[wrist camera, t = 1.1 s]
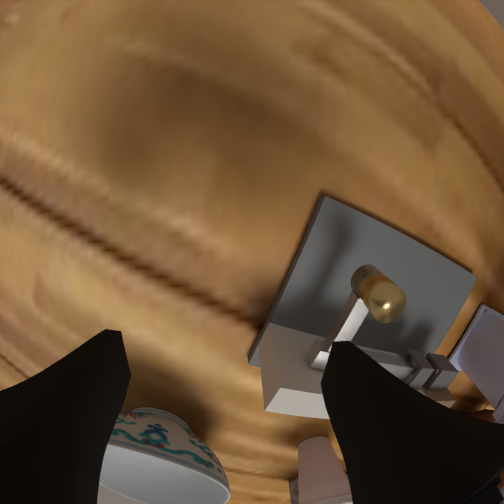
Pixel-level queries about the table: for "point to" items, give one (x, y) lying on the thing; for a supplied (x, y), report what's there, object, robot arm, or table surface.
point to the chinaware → (161, 461)
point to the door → (370, 331)
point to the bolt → (355, 310)
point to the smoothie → (321, 474)
